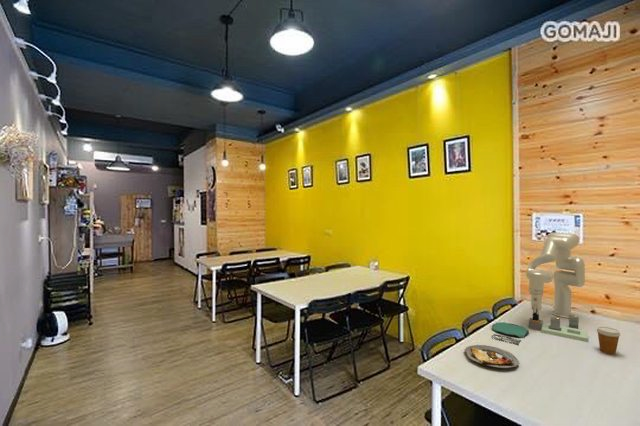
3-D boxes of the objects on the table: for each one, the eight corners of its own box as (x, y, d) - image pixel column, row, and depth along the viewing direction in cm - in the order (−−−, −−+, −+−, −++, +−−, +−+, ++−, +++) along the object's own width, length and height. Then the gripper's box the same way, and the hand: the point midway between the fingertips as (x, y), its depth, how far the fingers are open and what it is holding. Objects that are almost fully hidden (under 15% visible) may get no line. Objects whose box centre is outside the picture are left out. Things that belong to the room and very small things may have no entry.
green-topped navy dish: (531, 330, 201) (531, 327, 201) (522, 347, 178) (522, 343, 178) (496, 323, 214) (496, 319, 214) (483, 338, 191) (483, 334, 191)
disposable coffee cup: (610, 348, 176) (610, 326, 176) (624, 356, 167) (625, 333, 166) (591, 347, 177) (592, 325, 177) (605, 355, 168) (605, 332, 167)
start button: (531, 324, 204) (532, 320, 203) (532, 323, 206) (532, 318, 206) (538, 326, 201) (538, 321, 201) (539, 324, 204) (539, 319, 204)
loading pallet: (527, 330, 201) (527, 322, 200) (530, 323, 212) (530, 316, 211) (588, 342, 183) (588, 334, 182) (587, 334, 194) (587, 326, 194)
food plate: (526, 374, 150) (526, 366, 150) (473, 369, 154) (472, 362, 154) (506, 351, 174) (506, 344, 174) (461, 347, 179) (461, 341, 179)
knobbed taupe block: (568, 329, 202) (569, 316, 202) (568, 327, 206) (569, 314, 205) (578, 331, 199) (578, 318, 199) (578, 329, 203) (578, 316, 203)
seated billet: (550, 331, 197) (550, 318, 197) (550, 329, 201) (550, 316, 201) (559, 333, 194) (559, 320, 194) (559, 331, 198) (560, 318, 198)
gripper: (542, 295, 195) (541, 324, 195) (544, 289, 207) (543, 318, 207) (527, 292, 200) (527, 322, 200) (530, 288, 211) (529, 315, 212)
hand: (535, 320), depth 204 cm, fingers closed
